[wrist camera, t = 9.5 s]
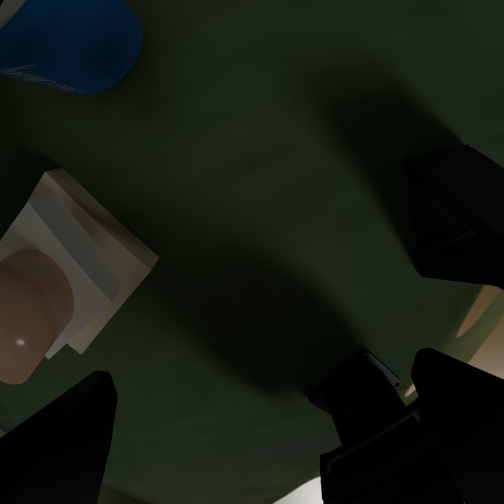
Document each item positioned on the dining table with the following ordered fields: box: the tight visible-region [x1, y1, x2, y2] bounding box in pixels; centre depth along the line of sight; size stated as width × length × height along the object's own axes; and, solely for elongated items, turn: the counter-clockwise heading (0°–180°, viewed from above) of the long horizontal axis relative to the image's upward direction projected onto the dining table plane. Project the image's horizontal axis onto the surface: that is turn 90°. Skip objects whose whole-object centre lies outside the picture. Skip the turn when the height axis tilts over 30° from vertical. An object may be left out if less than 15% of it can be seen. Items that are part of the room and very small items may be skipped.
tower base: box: [26, 168, 159, 355], centre depth 19 cm, size 9×9×3 cm
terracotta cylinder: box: [0, 249, 74, 384], centre depth 13 cm, size 5×5×5 cm
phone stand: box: [405, 145, 504, 290], centre depth 15 cm, size 9×6×12 cm, turn 16°
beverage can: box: [0, 0, 142, 95], centre depth 10 cm, size 6×6×12 cm
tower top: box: [0, 192, 127, 359], centre depth 16 cm, size 7×7×3 cm
